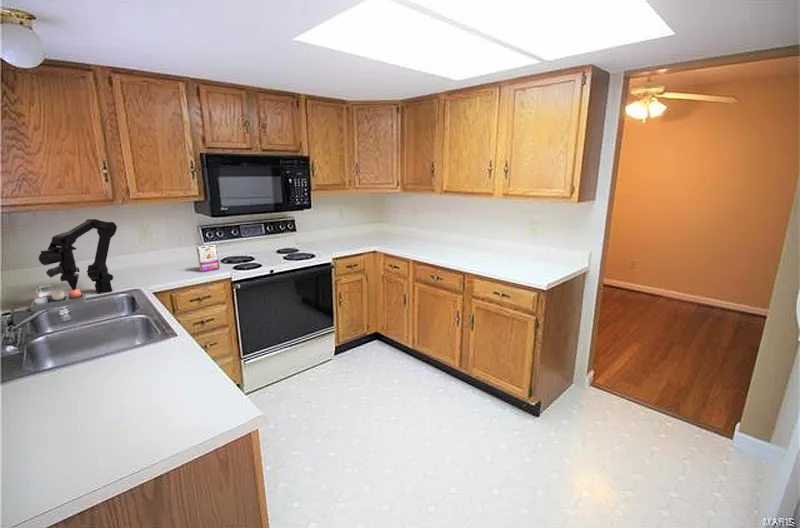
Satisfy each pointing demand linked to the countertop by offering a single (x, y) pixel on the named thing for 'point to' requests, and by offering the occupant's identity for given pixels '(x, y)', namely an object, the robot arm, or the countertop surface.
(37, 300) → the blue button
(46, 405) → the countertop surface
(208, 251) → the candy bar box
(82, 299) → the console
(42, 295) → the syrup box
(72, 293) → the red button
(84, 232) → the robot arm
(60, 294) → the ivory button
